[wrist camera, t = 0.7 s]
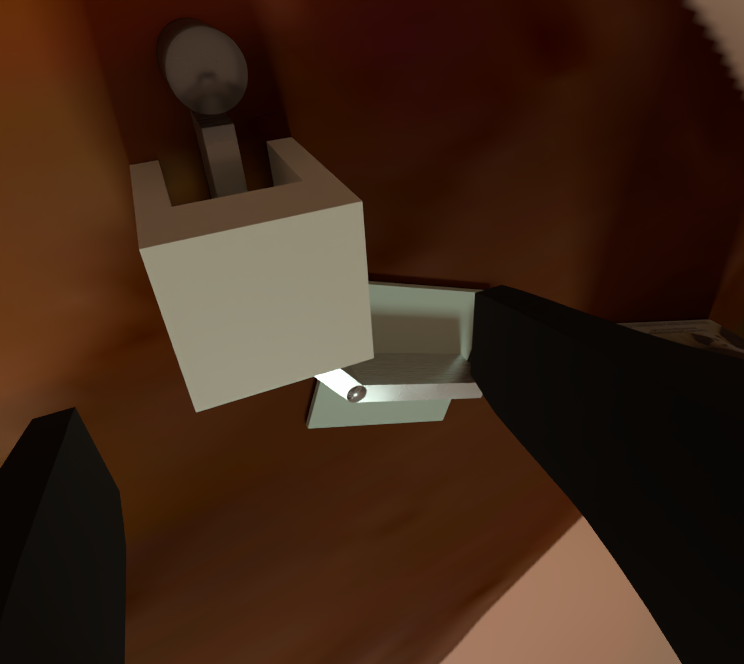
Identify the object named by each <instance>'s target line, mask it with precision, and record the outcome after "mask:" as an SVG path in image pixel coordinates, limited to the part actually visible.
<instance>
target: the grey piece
mask: <svg viewBox="0 0 744 664" xmlns="http://www.w3.org/2000/svg"><path fill="white" fill-rule="evenodd" d="M156 55H157V60H158V64H159V66H160V68H161V70H162V72H163V74H164V76H165V78H166V80H167V82H168V83H169V85H170V87H171V89H172V91H173V92H174V94H175V95H176V97H177V98H178V99H179V100H180V101H181V102H182V103H183V104H184V105H185V106H187V107H188V108H190V113H191V117H192V121H193V125H194V129H195V133H196V137H197V141H198V145H199V149H200V153H201V158H202V162H203V166H204V170H205V174H206V178H207V182H208V186H209V190H210V194H211V198H212V199H214V198H220V197H225V196H230V195H235V194H240V193H245V192H248V191H247V186H246V181H245V176H244V171H243V166H242V161H241V156H240V152H239V147H238V142H237V137H236V132H235V127H234V123H233V122H232V121H231V120H230V118H229V117H228V116H227V115H226V114H225V112H227V111H229V110H230V109H232V108H233V107H234V106H236V105H237V104H238V103H239V101H240V100H241V99H242V97H243V95H244V93H245V90H246V87H247V83H248V70H247V64H246V61H245V58H244V56H243V54H242V52H241V50H240V49H239V47H238V46H237V44H236V43H235V42H234V41H233V40H232V39H231V38H229V37H228V36H227V35H225V34H224V33H222V32H220V31H218V30H217V29H215V28H213V27H211V26H209V25H207V24H206V23H204V22H202V21H200V20H197V19H193V18H180V19H176V20H174V21H172V22H170V23H169V24H167V25H166V26H165V27H164V28H163V30H162V31H161V33H160V35H159V37H158V40H157V45H156ZM471 351H472V350H471ZM470 368H471V352H470V354H469V357H468V359H467V360H466V359H465V358H464V357H463V356H462V354H428V353H374V358H373V359H370V360H366V361H363V362H360V363H356V364H353V365H350V366H347V367H343V368H340V369H337V370H333V371H330V372H327V373H324V374H320V375H317V376H314V377H316V378H317V379H318V380H320V381H321V382H323V383H324V384H325V385H327V386H328V387H330V388H331V389H333V390H334V391H335V392H337V393H338V394H340V395H341V396H342V397H344V398H345V399H347V400H348V401H349V402H352V403H357V402H383V401H408V400H434V399H460V398H481V396H482V392H481V391H480V389H479V387H478V386H477V384H476V383H475V381H474V379H473V378H472V376H471V375H470Z"/></svg>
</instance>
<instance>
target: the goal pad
mask: <svg viewBox="0 0 744 664" xmlns="http://www.w3.org/2000/svg"><path fill="white" fill-rule="evenodd" d="M368 285H369V298H370V312H371V325H372V338H373V352H374V353H428V354H462V356H463V357H464V358H465V359H466V360H467V359H468V357H469V354H470V352H471V350H472V334H473V317H474V300H475V293H476V292H479V291H483V290H477V289H464V288H451V287H438V286H426V285H413V284H400V283H387V282H375V281H368ZM450 401H451V399H434V400H408V401H383V402H357V403H352V402H349V401H348V400H347V399H345V398H344V397H342V396H341V395H340V394H338V393H337V392H335V391H334V390H333V389H331V388H330V387H328V386H327V385H325V384H324V383H323V382H321V381H320V380H317V383H316V387H315V391H314V395H313V399H312V403H311V406H310V410H309V414H308V418H307V422H306V425H307V427H308V428H324V427H341V426H357V425H374V424H390V423H407V422H423V421H440V420H443V418H444V416H445V413H446V411H447V408H448V406H449V403H450Z"/></svg>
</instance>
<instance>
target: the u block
mask: <svg viewBox="0 0 744 664" xmlns="http://www.w3.org/2000/svg"><path fill="white" fill-rule="evenodd" d="M266 143H267V148H268V154H269V160H270V166H271V172H272V177H273V183H274V187H270V188H265V189H260V190H255V191H250V192H245V193H240V194H235V195H230V196H225V197H220V198H214V199H209V200H204V201H199V202H194V203H189V204H184V205H179V206H174V207H172V205H171V201H170V198H169V195H168V191H167V188H166V184H165V181H164V178H163V174H162V171H161V167H160V164H159V161H158V160H156V161H150V162H144V163H139V164H133V165H129V166H130V175H131V183H132V192H133V200H134V209H135V218H136V226H137V235H138V244H139V250H140V253H141V256H142V259H143V262H144V265H145V267H146V270H147V273H148V276H149V279H150V282H151V285H152V288H153V290H154V293H155V296H156V299H157V302H158V305H159V308H160V310H161V313H162V316H163V319H164V322H165V325H166V328H167V331H168V333H169V336H170V339H171V342H172V345H173V348H174V351H175V353H176V356H177V359H178V362H179V365H180V368H181V371H182V373H183V376H184V379H185V382H186V385H187V388H188V391H189V394H190V396H191V399H192V402H193V405H194V408H195V411H196V412H199V411H202V410H206V409H209V408H212V407H215V406H219V405H222V404H225V403H229V402H232V401H235V400H238V399H242V398H245V397H248V396H252V395H255V394H258V393H261V392H265V391H268V390H271V389H274V388H278V387H281V386H284V385H288V384H291V383H294V382H297V381H301V380H304V379H307V378H311V377H314V376H317V375H320V374H324V373H327V372H330V371H333V370H337V369H340V368H343V367H347V366H350V365H353V364H356V363H360V362H363V361H366V360H370V359H373V358H374V352H373V338H372V325H371V312H370V298H369V285H368V272H367V258H366V245H365V232H364V218H363V205H362V201H361V200H360V199H359V198H358V197H357V196H356V195H355V194H354V193H353V192H351V191H350V190H349V189H348V188H347V187H346V186H345V185H344V184H343V183H342V182H340V181H339V180H338V179H337V178H336V177H335V176H334V175H333V174H332V173H331V172H329V171H328V170H327V169H326V168H325V167H324V166H323V165H322V164H321V163H319V162H318V161H317V160H316V159H315V158H314V157H313V156H312V155H311V154H310V153H308V152H307V151H306V150H305V149H304V148H303V147H302V146H301V145H300V144H299V143H297V142H296V141H295V140H294V139H293V138H292V137H289V138H283V139H278V140H272V141H266Z"/></svg>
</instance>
